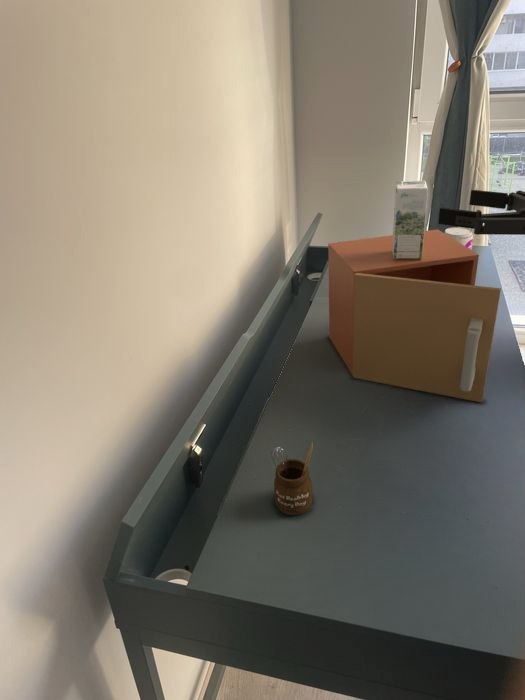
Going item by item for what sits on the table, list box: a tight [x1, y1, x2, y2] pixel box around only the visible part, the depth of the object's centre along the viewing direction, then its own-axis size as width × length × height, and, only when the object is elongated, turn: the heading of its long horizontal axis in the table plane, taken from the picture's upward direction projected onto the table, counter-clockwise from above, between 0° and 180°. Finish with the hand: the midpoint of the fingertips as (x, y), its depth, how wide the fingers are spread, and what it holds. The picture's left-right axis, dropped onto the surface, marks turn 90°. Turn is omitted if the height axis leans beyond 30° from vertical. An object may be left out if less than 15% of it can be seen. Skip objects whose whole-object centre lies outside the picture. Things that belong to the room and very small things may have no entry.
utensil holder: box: [270, 441, 314, 516], centre depth 81 cm, size 6×6×12 cm
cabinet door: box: [352, 273, 502, 403], centre depth 100 cm, size 7×26×24 cm, turn 64°
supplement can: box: [443, 226, 474, 251], centre depth 150 cm, size 8×8×15 cm
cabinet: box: [327, 229, 480, 376], centre depth 118 cm, size 18×26×24 cm
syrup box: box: [392, 180, 429, 260], centre depth 104 cm, size 6×6×14 cm
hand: (455, 206), depth 96 cm, fingers open, 13 cm apart
